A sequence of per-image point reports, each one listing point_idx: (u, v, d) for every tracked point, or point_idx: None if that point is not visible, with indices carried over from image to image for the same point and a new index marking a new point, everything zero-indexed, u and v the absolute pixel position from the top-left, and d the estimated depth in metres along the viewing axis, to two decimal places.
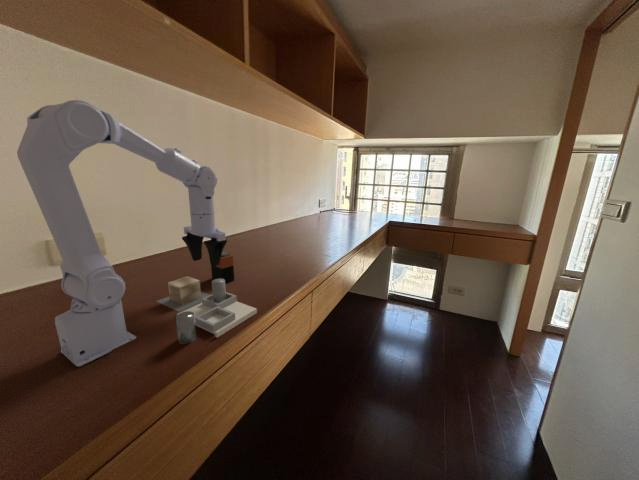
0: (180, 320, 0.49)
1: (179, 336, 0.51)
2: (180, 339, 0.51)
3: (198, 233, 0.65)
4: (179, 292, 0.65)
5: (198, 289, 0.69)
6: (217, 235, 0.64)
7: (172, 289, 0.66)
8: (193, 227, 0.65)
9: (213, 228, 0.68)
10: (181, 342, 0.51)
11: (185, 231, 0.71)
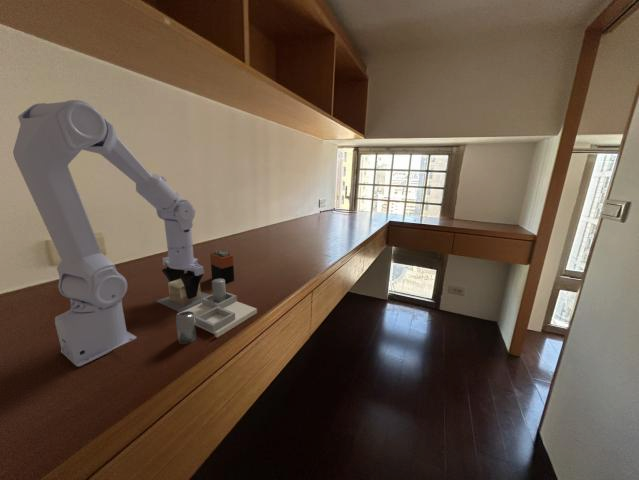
0: (180, 320, 0.49)
1: (179, 336, 0.51)
2: (180, 339, 0.51)
3: (175, 267, 0.64)
4: (179, 292, 0.65)
5: (198, 289, 0.69)
6: (195, 270, 0.62)
7: (172, 289, 0.66)
8: (170, 261, 0.64)
9: (191, 260, 0.66)
10: (181, 342, 0.51)
11: (164, 262, 0.69)
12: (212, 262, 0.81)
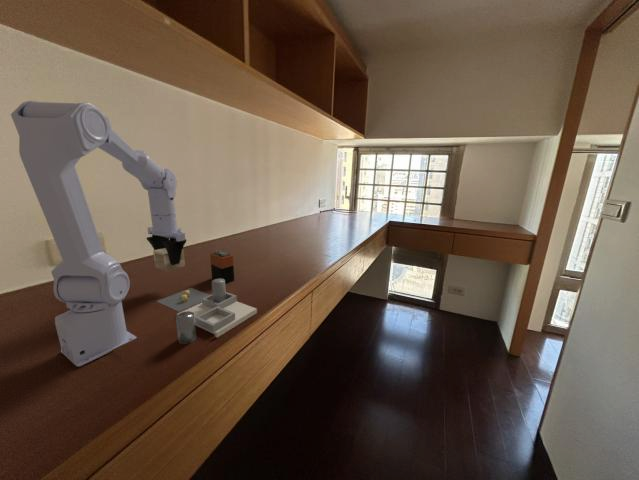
0: (180, 320, 0.49)
1: (179, 336, 0.51)
2: (180, 339, 0.51)
3: (158, 233, 0.67)
4: (163, 259, 0.69)
5: (182, 258, 0.73)
6: (176, 235, 0.66)
7: (157, 256, 0.70)
8: (154, 228, 0.67)
9: (174, 228, 0.70)
10: (181, 342, 0.51)
11: (149, 231, 0.73)
12: (212, 262, 0.81)
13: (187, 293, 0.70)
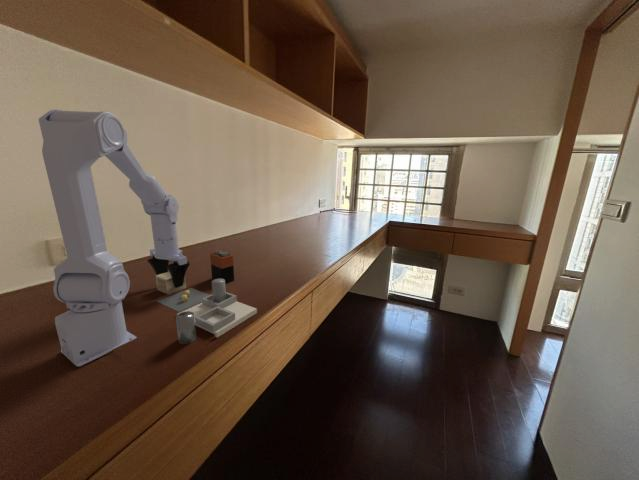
0: (180, 320, 0.49)
1: (179, 336, 0.51)
2: (180, 339, 0.51)
3: (161, 257, 0.69)
4: (165, 284, 0.71)
5: (184, 282, 0.75)
6: (178, 259, 0.68)
7: (159, 281, 0.72)
8: (156, 251, 0.69)
9: (176, 251, 0.71)
10: (181, 342, 0.51)
11: (151, 253, 0.74)
12: (212, 262, 0.81)
13: (187, 293, 0.70)
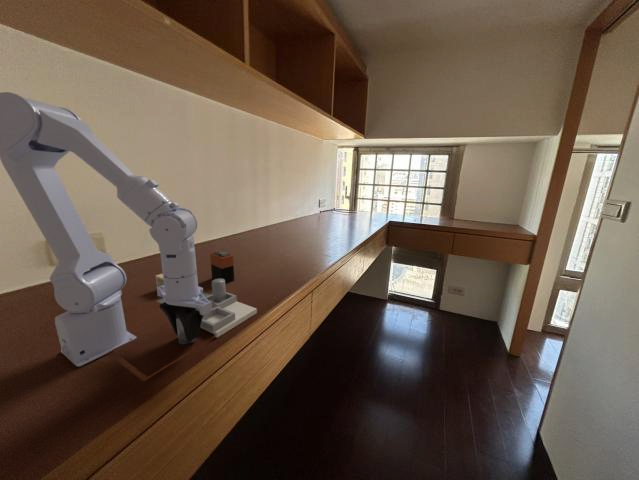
0: None
1: (179, 336, 0.51)
2: (180, 339, 0.51)
3: (174, 303, 0.47)
4: None
5: None
6: (200, 307, 0.46)
7: (159, 281, 0.72)
8: (167, 294, 0.47)
9: (196, 292, 0.49)
10: (181, 342, 0.51)
11: (159, 293, 0.52)
12: (212, 262, 0.81)
13: None
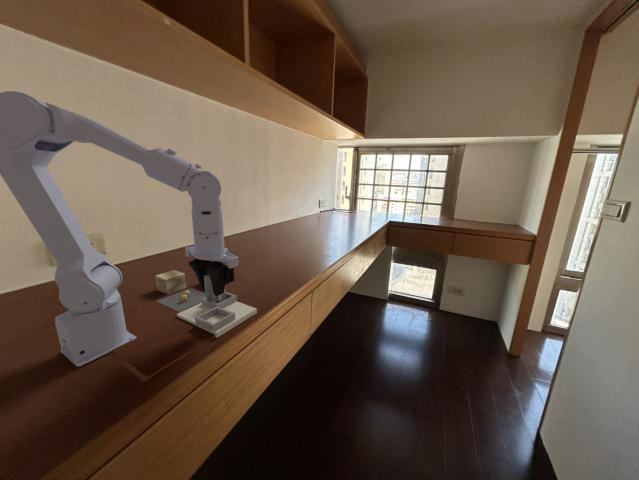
0: (207, 277, 0.53)
1: (206, 292, 0.54)
2: (207, 295, 0.54)
3: (204, 257, 0.51)
4: (165, 284, 0.71)
5: (184, 282, 0.75)
6: (228, 260, 0.50)
7: (159, 281, 0.72)
8: (197, 250, 0.51)
9: (222, 250, 0.53)
10: (208, 298, 0.55)
11: (187, 253, 0.56)
12: None
13: (187, 293, 0.70)
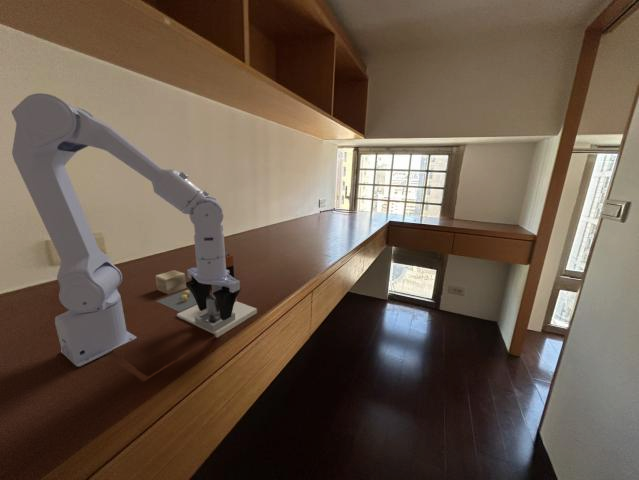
0: (210, 301, 0.55)
1: (209, 315, 0.56)
2: (209, 318, 0.56)
3: (206, 282, 0.52)
4: (165, 284, 0.71)
5: (184, 282, 0.75)
6: (230, 285, 0.51)
7: (159, 281, 0.72)
8: (200, 274, 0.52)
9: (224, 273, 0.55)
10: (210, 321, 0.56)
11: (189, 275, 0.58)
12: None
13: (187, 293, 0.70)
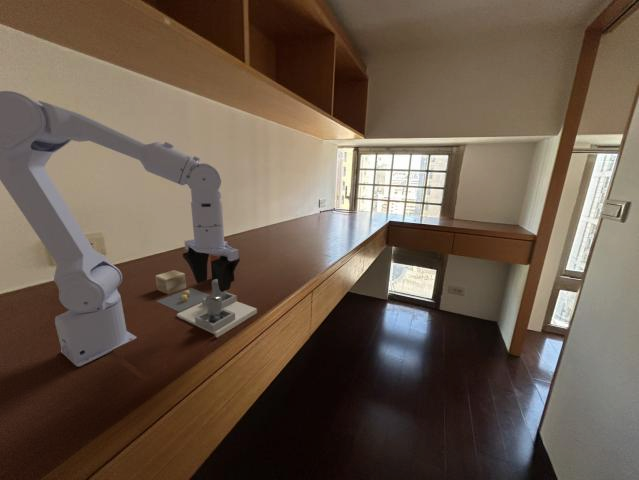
0: (210, 301, 0.55)
1: (209, 315, 0.56)
2: (209, 318, 0.56)
3: (203, 250, 0.51)
4: (165, 284, 0.71)
5: (184, 282, 0.75)
6: (228, 253, 0.49)
7: (159, 281, 0.72)
8: (197, 243, 0.51)
9: (222, 243, 0.53)
10: (210, 321, 0.56)
11: (186, 246, 0.56)
12: None
13: (187, 293, 0.70)
